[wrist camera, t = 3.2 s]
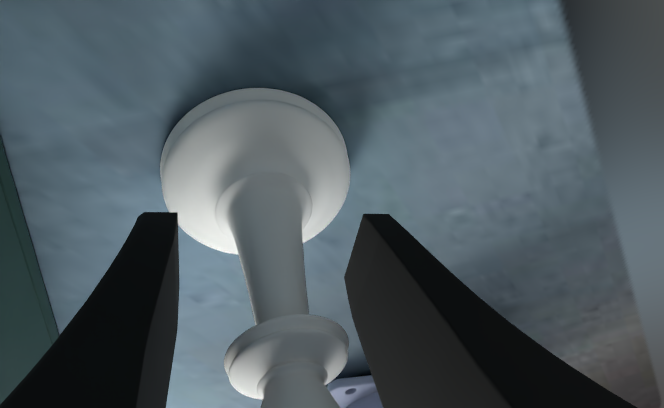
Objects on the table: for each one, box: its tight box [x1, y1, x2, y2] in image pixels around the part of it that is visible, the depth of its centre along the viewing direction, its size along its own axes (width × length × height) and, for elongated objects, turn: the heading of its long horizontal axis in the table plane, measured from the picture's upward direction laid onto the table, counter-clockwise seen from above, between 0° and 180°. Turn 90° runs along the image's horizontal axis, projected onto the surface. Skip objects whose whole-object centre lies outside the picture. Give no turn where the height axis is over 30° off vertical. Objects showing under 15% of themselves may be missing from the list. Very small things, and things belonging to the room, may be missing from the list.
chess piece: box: [160, 88, 350, 408], centre depth 8 cm, size 5×5×10 cm
